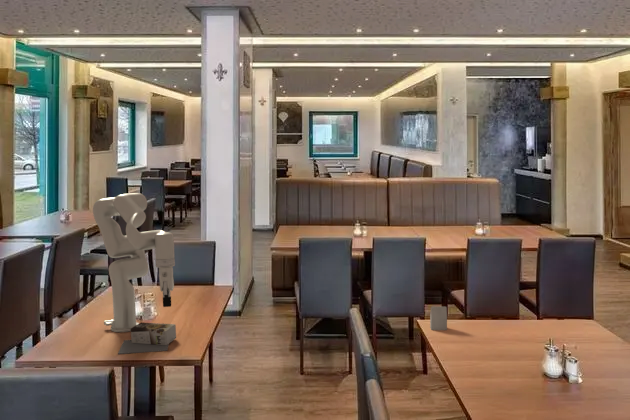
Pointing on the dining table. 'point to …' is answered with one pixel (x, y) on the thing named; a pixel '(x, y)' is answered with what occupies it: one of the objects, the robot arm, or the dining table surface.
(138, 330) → the coffee box
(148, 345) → the mat
